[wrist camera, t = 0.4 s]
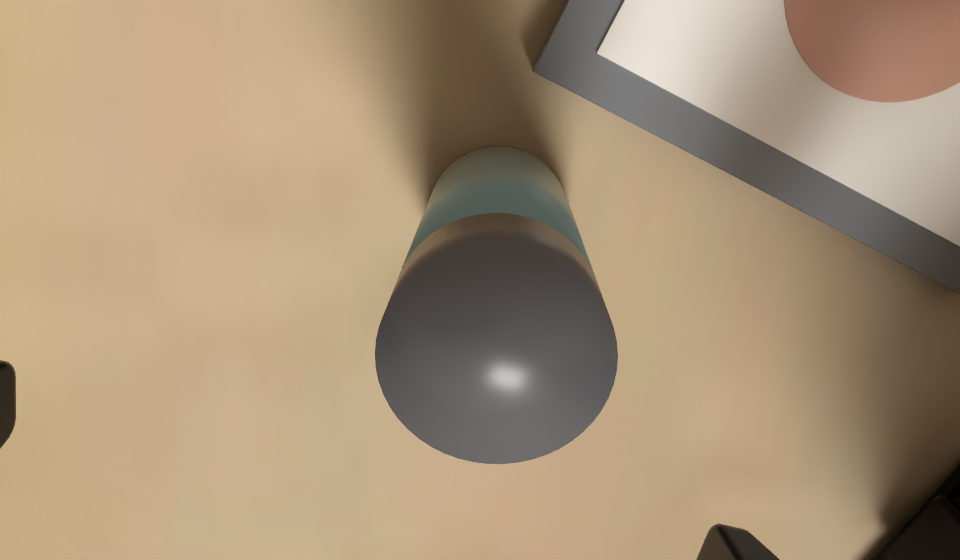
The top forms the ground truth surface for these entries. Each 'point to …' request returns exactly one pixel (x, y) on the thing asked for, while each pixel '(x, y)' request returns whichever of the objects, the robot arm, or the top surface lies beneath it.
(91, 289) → the top surface
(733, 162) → the drawing board
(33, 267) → the top surface
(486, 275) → the cylinder
